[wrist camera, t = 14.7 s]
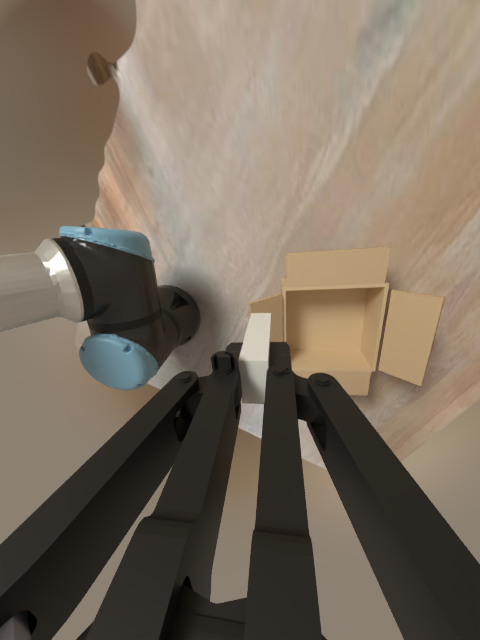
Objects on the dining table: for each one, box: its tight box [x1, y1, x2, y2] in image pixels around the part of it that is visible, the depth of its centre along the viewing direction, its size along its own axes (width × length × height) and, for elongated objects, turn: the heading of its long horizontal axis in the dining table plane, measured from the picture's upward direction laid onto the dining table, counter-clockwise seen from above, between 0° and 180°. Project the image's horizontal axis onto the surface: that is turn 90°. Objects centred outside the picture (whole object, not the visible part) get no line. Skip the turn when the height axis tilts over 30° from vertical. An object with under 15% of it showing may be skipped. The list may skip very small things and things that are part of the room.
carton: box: [282, 247, 391, 396], centre depth 49 cm, size 18×30×8 cm, turn 5°
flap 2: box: [378, 290, 445, 386], centre depth 41 cm, size 1×16×7 cm
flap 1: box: [248, 294, 282, 342], centre depth 45 cm, size 1×16×7 cm
